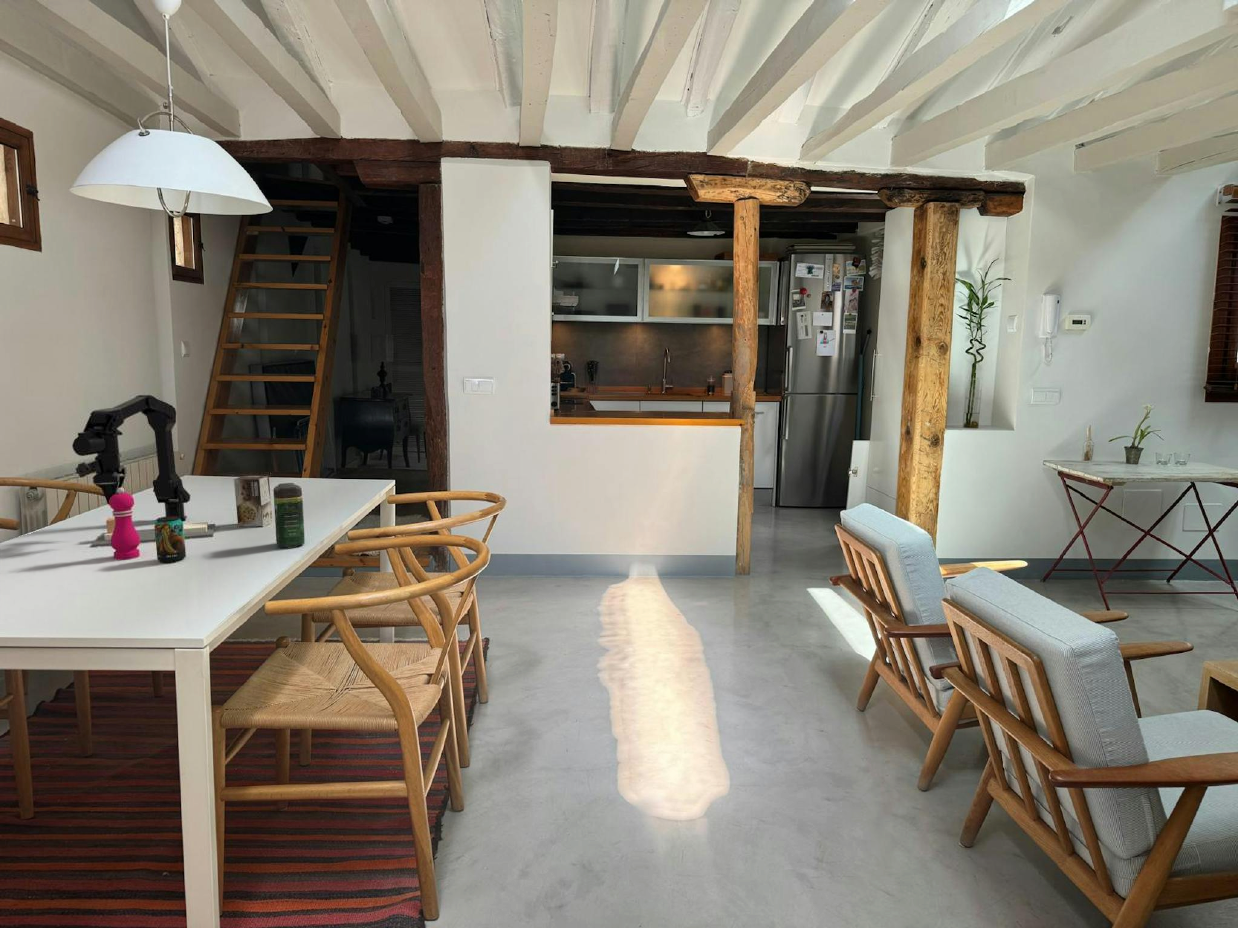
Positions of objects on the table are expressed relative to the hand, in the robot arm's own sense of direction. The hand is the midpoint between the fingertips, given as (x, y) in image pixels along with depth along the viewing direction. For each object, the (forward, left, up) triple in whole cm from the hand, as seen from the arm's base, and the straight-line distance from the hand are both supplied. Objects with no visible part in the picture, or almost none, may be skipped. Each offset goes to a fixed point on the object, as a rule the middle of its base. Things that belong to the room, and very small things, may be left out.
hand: (112, 502), depth 246 cm
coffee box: (-5, +39, -12) cm, 41 cm away
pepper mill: (+25, +6, -12) cm, 28 cm away
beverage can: (+34, +18, -12) cm, 40 cm away
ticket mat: (0, +11, -12) cm, 16 cm away
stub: (0, +1, -12) cm, 12 cm away
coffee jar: (+29, +49, -12) cm, 58 cm away
